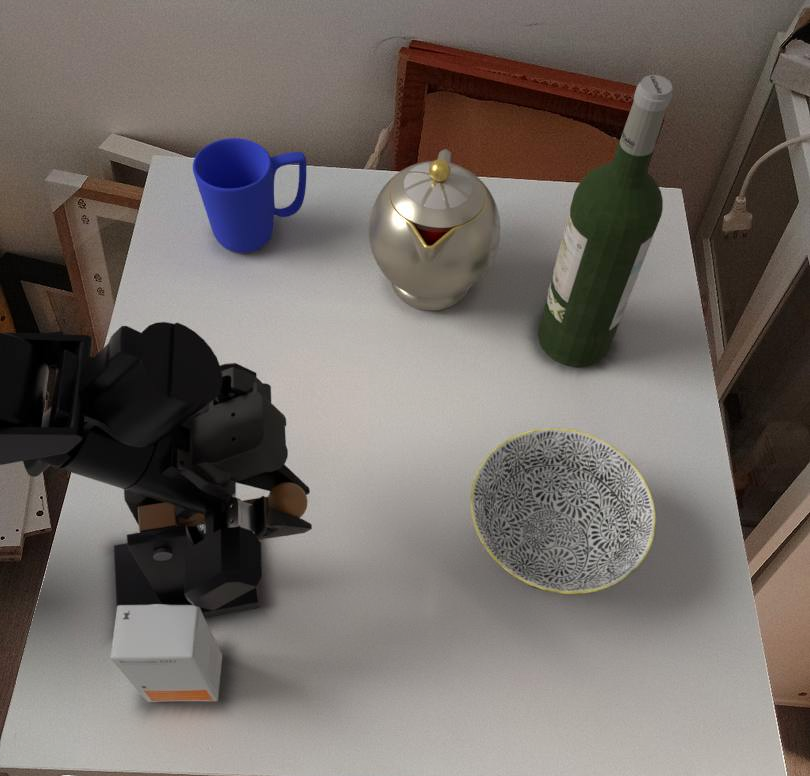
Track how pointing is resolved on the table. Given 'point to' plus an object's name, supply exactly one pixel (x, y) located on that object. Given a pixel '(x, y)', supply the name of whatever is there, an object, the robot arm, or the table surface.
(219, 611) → the bracket
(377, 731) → the table surface
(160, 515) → the lever
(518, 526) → the bowl
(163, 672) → the cosmetic box
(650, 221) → the wine bottle
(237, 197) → the mug
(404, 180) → the teapot
